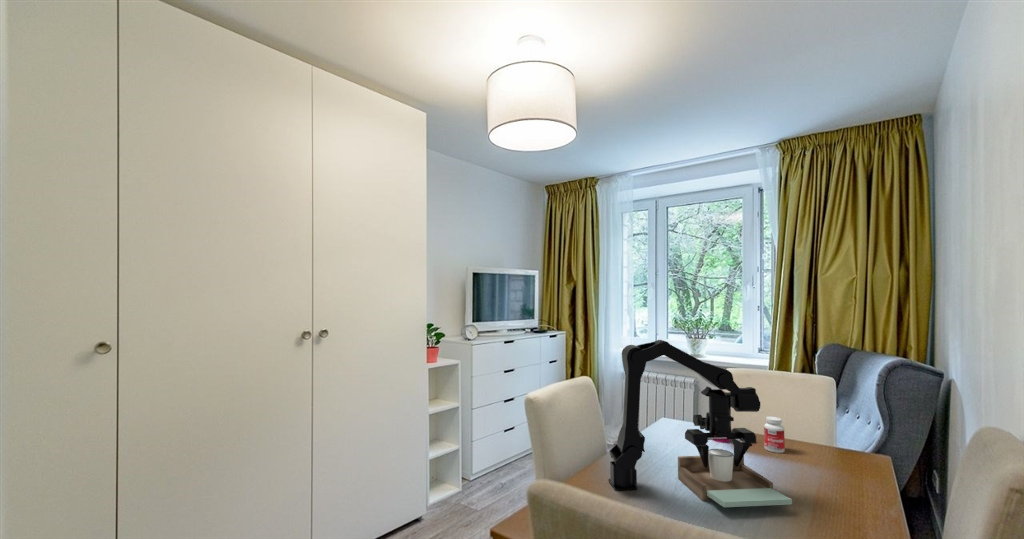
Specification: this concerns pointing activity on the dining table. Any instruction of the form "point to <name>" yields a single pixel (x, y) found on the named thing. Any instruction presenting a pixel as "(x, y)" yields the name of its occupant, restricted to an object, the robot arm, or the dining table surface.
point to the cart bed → (701, 482)
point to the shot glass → (720, 464)
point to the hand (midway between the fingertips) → (720, 466)
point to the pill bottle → (774, 435)
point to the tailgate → (748, 497)
